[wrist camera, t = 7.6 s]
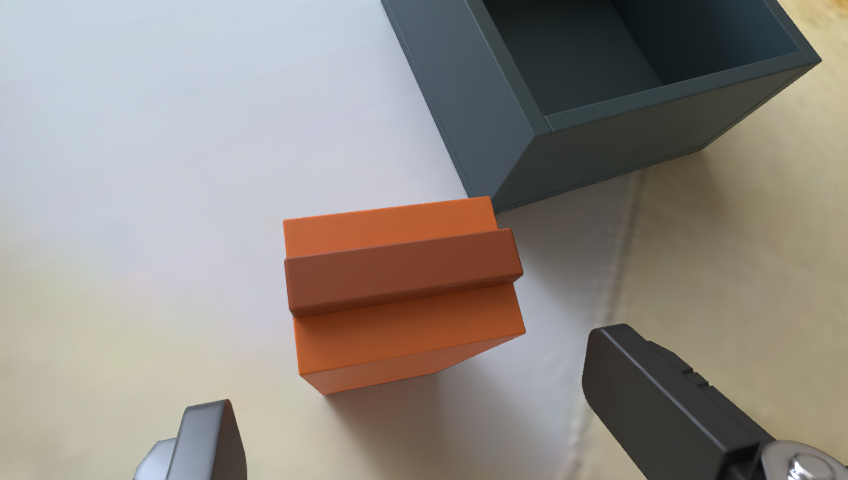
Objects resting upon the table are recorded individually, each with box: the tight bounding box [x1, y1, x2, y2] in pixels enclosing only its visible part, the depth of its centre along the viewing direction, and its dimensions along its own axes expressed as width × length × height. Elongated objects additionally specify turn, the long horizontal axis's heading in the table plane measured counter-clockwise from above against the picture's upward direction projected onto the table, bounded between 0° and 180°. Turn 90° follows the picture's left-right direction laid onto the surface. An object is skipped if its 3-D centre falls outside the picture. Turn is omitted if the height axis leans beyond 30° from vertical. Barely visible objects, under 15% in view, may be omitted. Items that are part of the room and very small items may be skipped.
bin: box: [381, 0, 822, 214], centre depth 25 cm, size 16×16×8 cm
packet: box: [283, 196, 526, 395], centre depth 16 cm, size 5×4×12 cm
